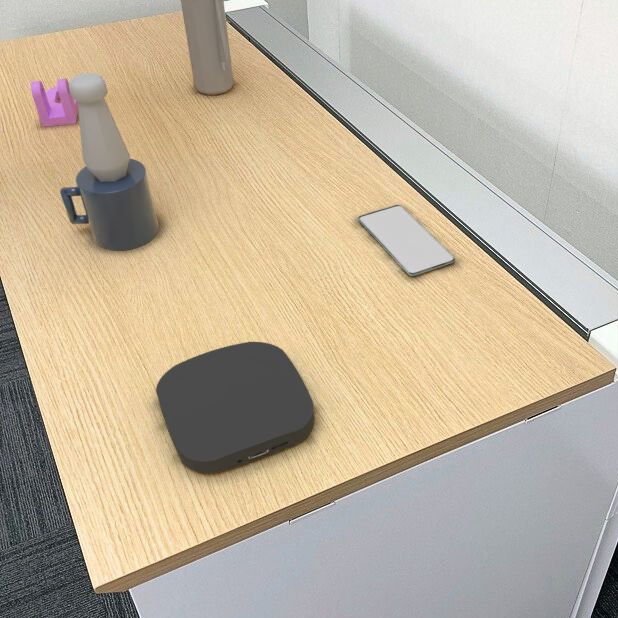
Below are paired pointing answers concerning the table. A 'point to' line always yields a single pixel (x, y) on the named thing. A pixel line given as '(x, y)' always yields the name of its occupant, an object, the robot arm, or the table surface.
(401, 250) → the smartphone
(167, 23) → the table surface
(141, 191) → the mug
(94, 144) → the salt shaker
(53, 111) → the bracket
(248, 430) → the media streaming box
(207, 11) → the water bottle
